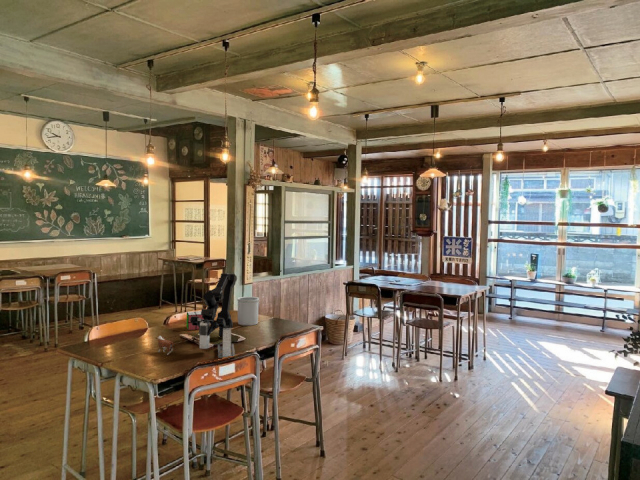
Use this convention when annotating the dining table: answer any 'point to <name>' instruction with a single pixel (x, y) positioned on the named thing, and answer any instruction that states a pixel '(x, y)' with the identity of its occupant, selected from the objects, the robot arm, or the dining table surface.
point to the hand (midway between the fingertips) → (203, 335)
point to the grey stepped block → (226, 345)
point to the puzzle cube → (189, 324)
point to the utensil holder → (248, 310)
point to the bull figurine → (165, 344)
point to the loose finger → (204, 334)
